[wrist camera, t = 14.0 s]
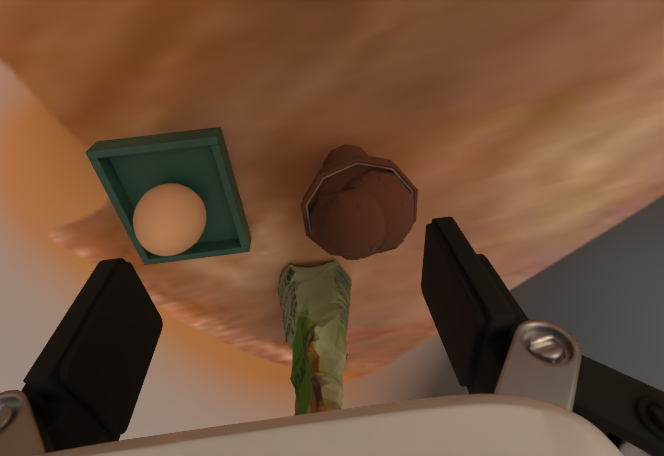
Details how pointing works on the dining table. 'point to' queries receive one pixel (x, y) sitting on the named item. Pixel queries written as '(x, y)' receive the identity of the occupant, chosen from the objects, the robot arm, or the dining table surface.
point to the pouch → (316, 333)
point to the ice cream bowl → (358, 204)
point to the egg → (169, 219)
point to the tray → (180, 168)
